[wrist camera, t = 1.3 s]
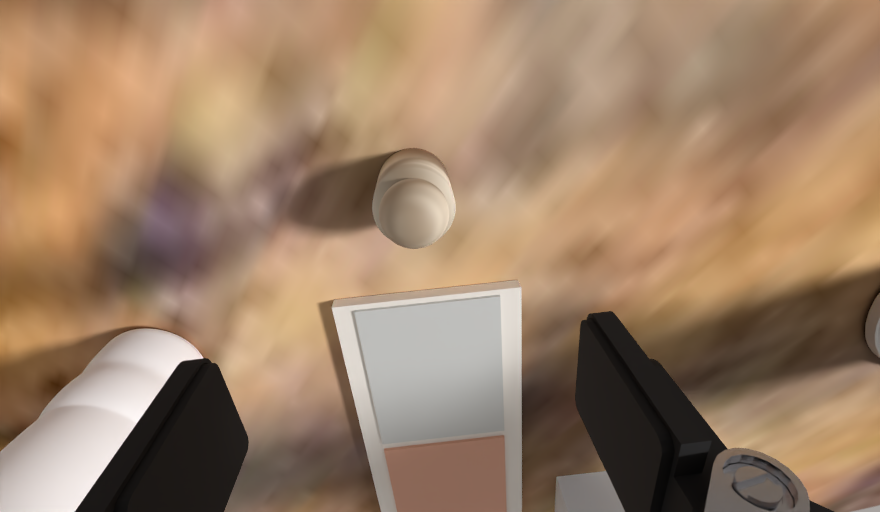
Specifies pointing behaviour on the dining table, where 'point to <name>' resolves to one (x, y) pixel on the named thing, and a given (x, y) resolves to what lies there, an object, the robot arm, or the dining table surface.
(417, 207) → the pawn
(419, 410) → the board
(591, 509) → the die
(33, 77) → the dining table surface
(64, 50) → the dining table surface
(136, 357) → the water bottle
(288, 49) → the dining table surface
